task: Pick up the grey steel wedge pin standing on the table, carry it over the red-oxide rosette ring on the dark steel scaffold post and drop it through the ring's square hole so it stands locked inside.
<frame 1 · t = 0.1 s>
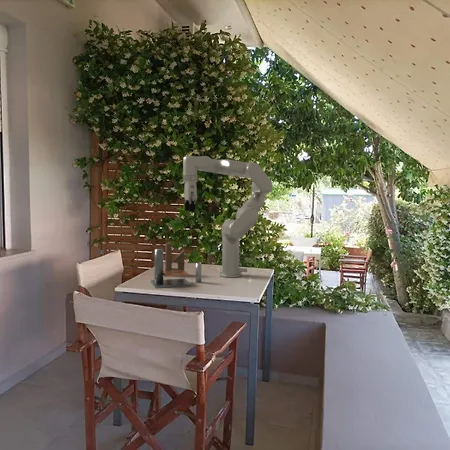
hand: (189, 211, 239), 37 cm above the table, tool pointing down, fingers open, 9 cm apart
brown slanted frame: (174, 275, 250), on the table
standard: (170, 284, 226), on the table
wedge pin: (198, 282, 232), on the table
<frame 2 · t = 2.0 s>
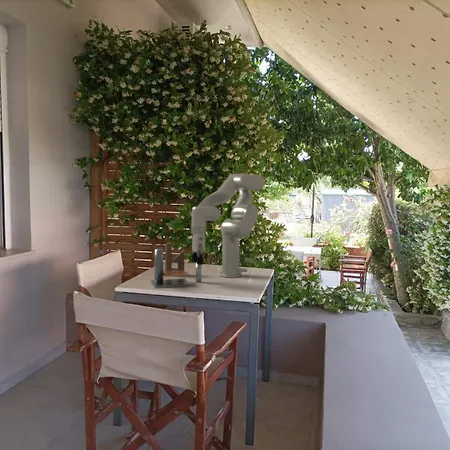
hand: (197, 263, 230), 10 cm above the table, tool pointing down, fingers open, 9 cm apart
nothing on the table moved.
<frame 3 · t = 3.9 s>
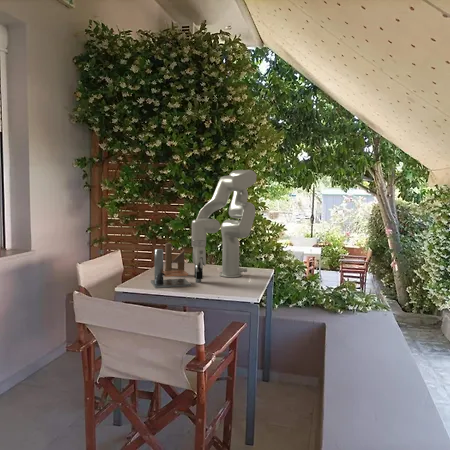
hand: (198, 277, 231), 2 cm above the table, tool pointing down, fingers closed on wedge pin, 3 cm apart
wedge pin: (198, 282, 232), on the table, touching gripper
everything else where it was.
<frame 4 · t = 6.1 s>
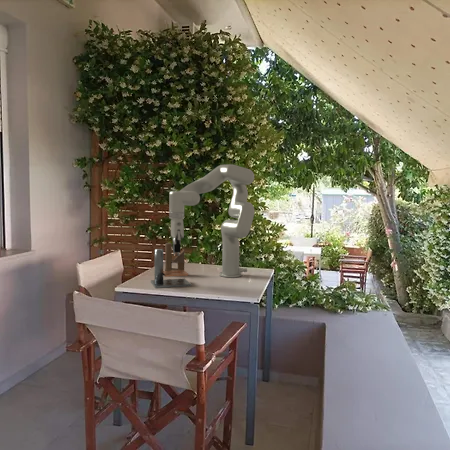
hand: (176, 251, 225), 17 cm above the table, tool pointing down, fingers closed on wedge pin, 3 cm apart
wedge pin: (176, 255, 226), point 15 cm above the table, touching gripper
everything else where it was.
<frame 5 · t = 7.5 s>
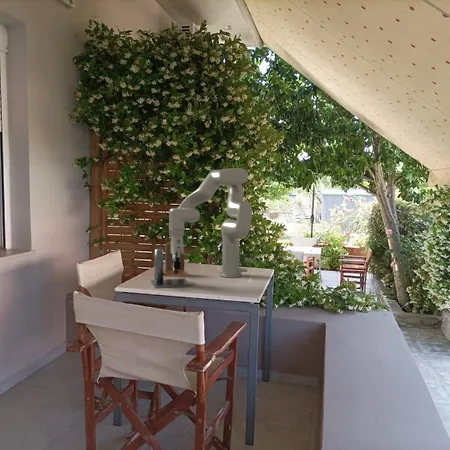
hand: (176, 268, 226), 8 cm above the table, tool pointing down, fingers closed on wedge pin, 3 cm apart
wedge pin: (176, 272, 226), point 6 cm above the table, touching gripper
everything else where it was.
when the fingers open (7 cm above the table, at t = 8.5 s): wedge pin drops 3 cm, resting on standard.
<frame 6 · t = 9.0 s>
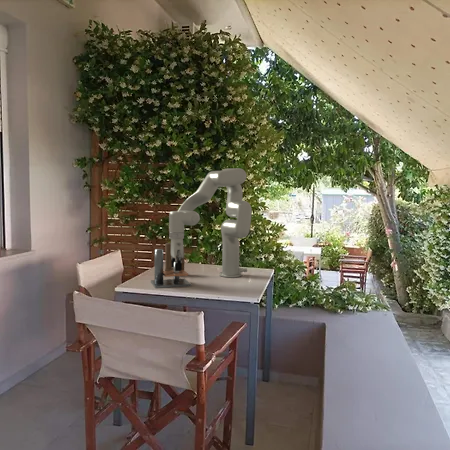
hand: (176, 269, 226), 8 cm above the table, tool pointing down, fingers open, 8 cm apart
wedge pin: (176, 281, 227), point 1 cm above the table, touching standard
everything else where it was.
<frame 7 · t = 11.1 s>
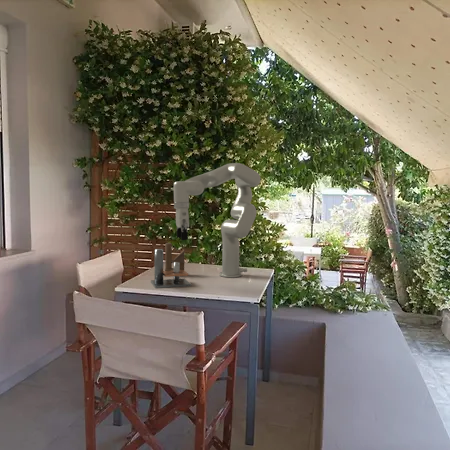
hand: (182, 238, 228), 23 cm above the table, tool pointing down, fingers open, 9 cm apart
nothing on the table moved.
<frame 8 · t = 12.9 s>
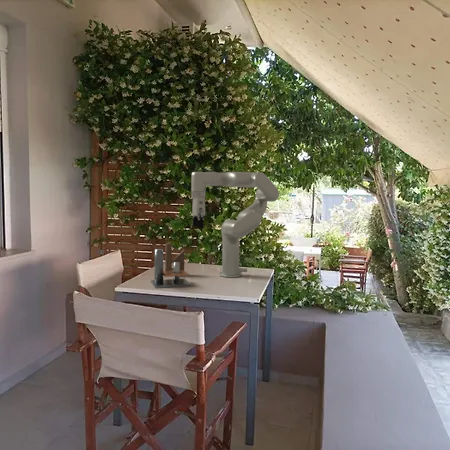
hand: (198, 226, 238), 28 cm above the table, tool pointing down, fingers open, 9 cm apart
nothing on the table moved.
at the end: wedge pin 0.2 cm from the target spot, point 1.0 cm above the table; wedge pin tilted 0°; the gripper is holding nothing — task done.
